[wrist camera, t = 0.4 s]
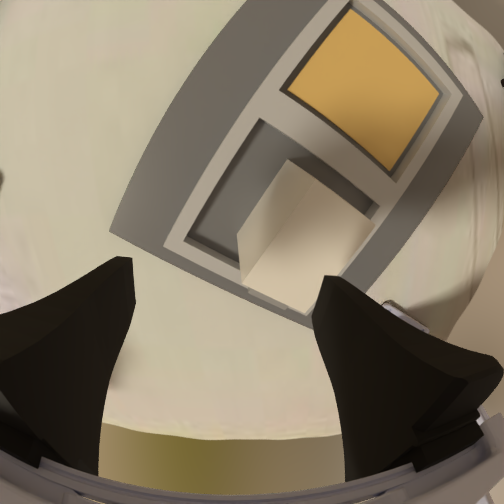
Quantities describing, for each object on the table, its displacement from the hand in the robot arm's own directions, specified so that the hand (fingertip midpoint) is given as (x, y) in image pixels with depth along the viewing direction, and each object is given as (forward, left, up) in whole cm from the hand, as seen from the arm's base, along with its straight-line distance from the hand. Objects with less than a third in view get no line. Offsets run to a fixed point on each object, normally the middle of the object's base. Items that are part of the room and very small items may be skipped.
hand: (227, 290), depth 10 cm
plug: (-3, -2, -9) cm, 10 cm away
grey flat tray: (-3, -7, -9) cm, 12 cm away
